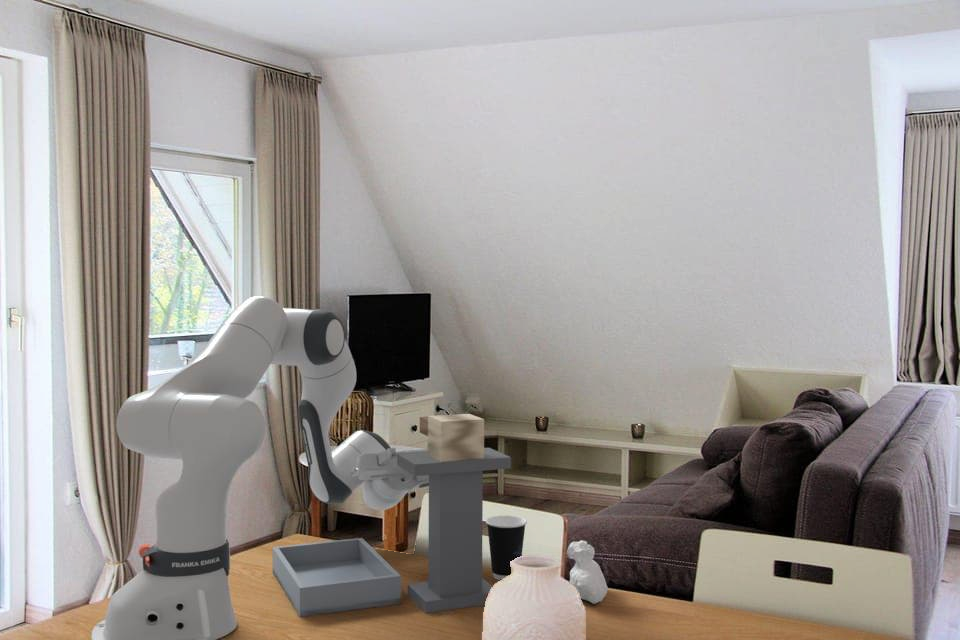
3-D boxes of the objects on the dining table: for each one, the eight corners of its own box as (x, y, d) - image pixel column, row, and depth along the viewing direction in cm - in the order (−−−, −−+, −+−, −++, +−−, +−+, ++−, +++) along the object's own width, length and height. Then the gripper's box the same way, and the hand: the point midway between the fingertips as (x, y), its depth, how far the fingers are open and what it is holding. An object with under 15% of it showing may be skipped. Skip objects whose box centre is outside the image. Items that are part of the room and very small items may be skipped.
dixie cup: (529, 582, 180) (529, 525, 179) (487, 583, 179) (488, 526, 178) (523, 569, 188) (523, 514, 187) (483, 570, 187) (483, 515, 186)
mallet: (441, 461, 164) (441, 421, 163) (407, 443, 181) (407, 407, 181) (483, 458, 167) (484, 419, 166) (446, 440, 184) (446, 405, 184)
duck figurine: (589, 598, 178) (553, 548, 179) (621, 575, 176) (585, 526, 177) (583, 620, 166) (544, 567, 167) (617, 597, 165) (578, 544, 166)
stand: (414, 614, 163) (414, 464, 161) (396, 596, 172) (397, 454, 171) (509, 601, 169) (510, 457, 168) (488, 584, 179) (489, 447, 177)
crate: (299, 617, 161) (299, 588, 161) (272, 572, 185) (272, 547, 185) (400, 603, 168) (400, 575, 168) (362, 562, 192) (362, 537, 192)
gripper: (347, 462, 198) (362, 438, 187) (439, 455, 206) (459, 432, 194) (351, 491, 195) (366, 468, 184) (444, 483, 203) (464, 461, 192)
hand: (415, 450), depth 189 cm, fingers open, 8 cm apart
